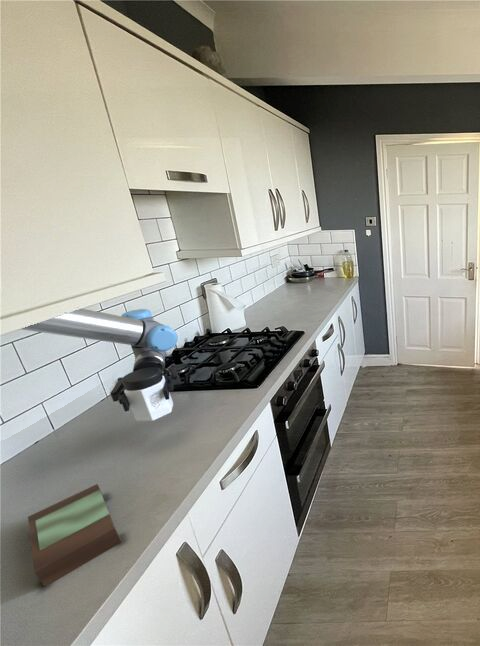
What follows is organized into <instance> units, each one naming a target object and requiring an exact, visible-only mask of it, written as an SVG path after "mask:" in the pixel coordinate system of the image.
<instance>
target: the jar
mask: <svg viewBox="0 0 480 646" xmlns="http://www.w3.org/2000/svg"><path fill="white" fill-rule="evenodd" d="M121 378H122V383H123V385H124V388H125V391H124V392H125V395H126V397H127V399H128V402H129V404H130V407H129V408H130V409H131V412H132V415H133V417H134V420H135V422H154V421H156V420H158V419H160V418H163V417H165V416H166V415H169V414H171V413H172V411H173V407H174V401H173V398H172V395H171V393H170V392H169V399H168V400H166V399H165V396H164V393H163V386H164V383H165V378H164V376H162V373H161V370H160V369H159V368H156V367H149V368H143V369H139V370H136V371H133V370H132V371H131V372H129V373H127V374H126V375H124V376H123V377H121Z"/></svg>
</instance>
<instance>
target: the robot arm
mask: <svg viewBox="0 0 480 646" xmlns="http://www.w3.org/2000/svg"><path fill="white" fill-rule="evenodd" d="M64 313H67V312H64ZM20 330H23V331H28V332H29V331H30V332H35V333H36V332H37V333H44V334H51V335H58V336H65V337H72V338H77V339H79V338H80V339H86V340H93V341H99V342H107V343H114V344H122V345H127V346H128V345H129V346H130V348H131V350H132V353H133V355H134V363H133V367H132V368H133V369H132V372H133V371H136V370H139V369H143V368H149V367H156V368H159V369H160V370H161V373H162V376H164V378H165V383H164V386H163V393H164V396H165V399H166V400H168V399H169V393H170V392H173V391H174V390H175V386H176V385H177V386H178V385H182V380H181V377H180V374H179V373H178V369H177V366H176V364H172V365H170V367H167V368H166V352H167V351H170V350H171V349H173V348H174V347H175V346H176V345H177V343H178V341H179V337H178V336H179V335H178V332H176V330H174V328H172V327H170V325H165V324H163V323H160V322H158V321H156V320H155V319H154V316H153V314H152V312H151V310H150V309H147V308H138V309H132V310H129V311H125V312H124V313H122V314H121V315H117V314H112V313H107V312H102V311H97V310H92V309H87V308H82V309H79V310H75V311H73V312H70V313H67V314H63V315H61V316H58V317H55V318H52V319H49V320H46V321H43V322H40V323H37V324H34V325H30V326H28V327H25V328H22V329H20ZM167 374H168V375H169V376H168V375H167ZM122 378H123V377H118V378H117V382H116V383H115V385H114V386H113V388H112V390H110V392H109V394H110V397H111V399H112V402H118V403H119V405H122V408H123V411H124V412H129V411H130V408H131V407H130V404H129V402H128V399H127V397H126V395H125V392H124V391H125V388H124V385H123V383H122Z"/></svg>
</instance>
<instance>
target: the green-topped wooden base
mask: <svg viewBox="0 0 480 646" xmlns="http://www.w3.org/2000/svg"><path fill="white" fill-rule="evenodd" d="M27 522H28V529H29V530H28V531H29V536H30V537H29V538H30V546H31V553H32V560H33V569H34V574H35V575H36V577H37V578H38V580H39V581H40V583H41V584H42V585H43V588H46V587H48V586H50V585H51V584H53V583H54V582H56V581H58V580H59V579H61V578H63V577H65V576H66V575H68V574H70V573H71V572H74V571H75V570H77V569H78V568H81V567H82V566H84V565H86V564H87V563H88V562H90V561H92V560H94V559H96V558H97V557H99V556H100V555H102V554H104V553H106V552H107V551H110V550H111V549H112V548H114V547H117V546H118V545H119V544H121V543H122V539H121V536H120V535H119V533H118V531H117V528H116V526H115V524H114V521H113V519H112V516H111V513H110V511H109V508H108V505H107V504H106V499H105V496H104V494H103V492H102V490H101V488H100V486H99V484H98V483H96V484H94V485H92V486H90V487H88V488H85V489H84V490H81V491H79V492H77V493H75V494H73V495H71V496H69V497H67V498H65V499H62V500H60V501H58V502H56V503H54V504H52V505H50V506H48V507H46V508H43V509H41V510H39V511H37V512H35V513H33V514H30V515H29V516H27Z"/></svg>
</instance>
